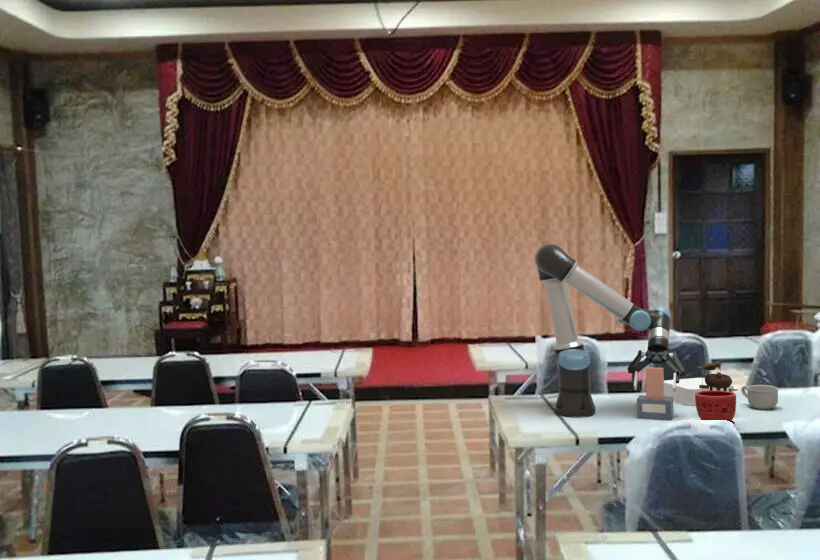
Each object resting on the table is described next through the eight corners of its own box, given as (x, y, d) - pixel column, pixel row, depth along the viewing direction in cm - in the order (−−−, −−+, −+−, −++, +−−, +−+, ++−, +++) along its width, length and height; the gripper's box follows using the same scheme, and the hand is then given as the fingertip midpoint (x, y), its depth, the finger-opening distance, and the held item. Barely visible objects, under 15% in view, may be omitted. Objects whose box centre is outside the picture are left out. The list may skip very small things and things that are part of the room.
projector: (739, 402, 307) (739, 385, 307) (690, 407, 301) (690, 389, 301) (706, 393, 327) (706, 377, 327) (659, 397, 321) (658, 380, 321)
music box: (703, 418, 282) (703, 363, 281) (691, 411, 293) (691, 358, 292) (745, 416, 282) (744, 361, 281) (731, 410, 293) (731, 357, 292)
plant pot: (740, 425, 269) (740, 391, 269) (730, 433, 259) (730, 397, 258) (701, 421, 277) (701, 387, 277) (690, 428, 267) (690, 394, 266)
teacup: (784, 409, 293) (784, 388, 292) (762, 412, 289) (762, 390, 288) (755, 402, 306) (755, 382, 305) (734, 405, 302) (734, 384, 301)
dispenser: (636, 418, 284) (636, 398, 284) (639, 413, 292) (639, 394, 291) (671, 420, 279) (671, 400, 279) (673, 415, 287) (673, 395, 287)
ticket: (646, 411, 286) (645, 368, 285) (647, 410, 288) (646, 367, 287) (663, 412, 284) (663, 368, 283) (664, 411, 285) (663, 368, 284)
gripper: (693, 349, 294) (691, 396, 281) (625, 347, 304) (620, 392, 291) (692, 337, 289) (690, 384, 276) (623, 335, 299) (618, 381, 286)
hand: (654, 388), depth 283 cm, fingers open, 13 cm apart
